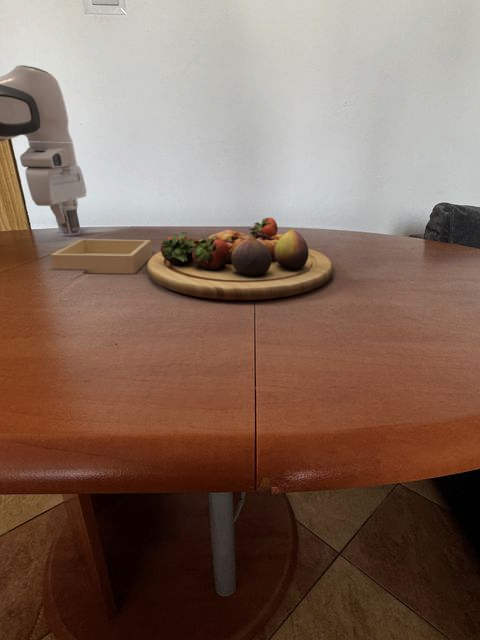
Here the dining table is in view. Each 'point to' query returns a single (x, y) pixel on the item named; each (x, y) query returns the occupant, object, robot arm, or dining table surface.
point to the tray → (104, 256)
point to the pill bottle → (69, 220)
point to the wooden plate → (240, 264)
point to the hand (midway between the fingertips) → (68, 221)
